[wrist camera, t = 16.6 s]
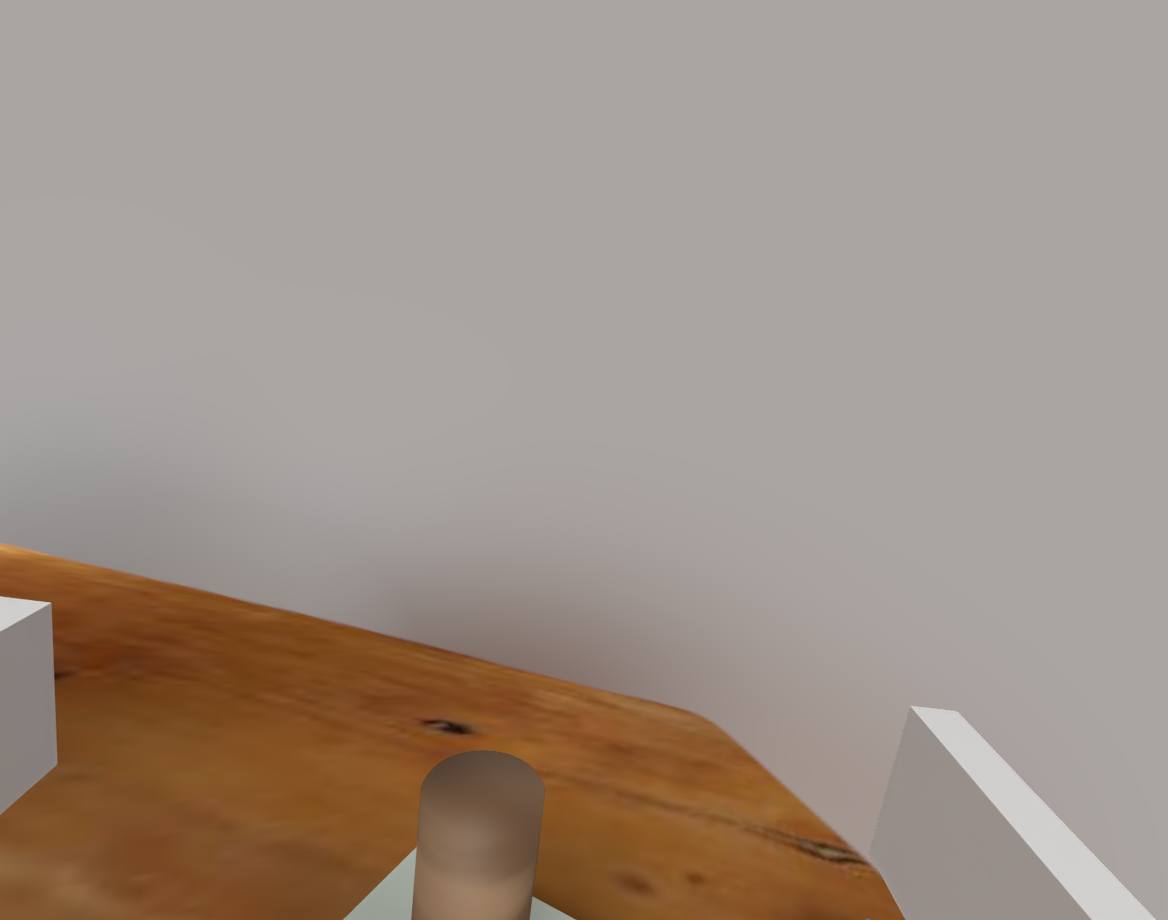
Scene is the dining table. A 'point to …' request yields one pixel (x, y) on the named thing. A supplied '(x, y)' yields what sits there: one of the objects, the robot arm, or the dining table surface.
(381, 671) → the dining table surface
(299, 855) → the dining table surface
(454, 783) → the dowel
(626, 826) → the dining table surface
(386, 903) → the socket block
